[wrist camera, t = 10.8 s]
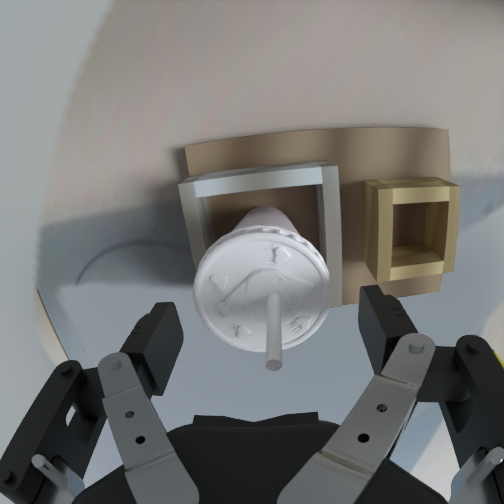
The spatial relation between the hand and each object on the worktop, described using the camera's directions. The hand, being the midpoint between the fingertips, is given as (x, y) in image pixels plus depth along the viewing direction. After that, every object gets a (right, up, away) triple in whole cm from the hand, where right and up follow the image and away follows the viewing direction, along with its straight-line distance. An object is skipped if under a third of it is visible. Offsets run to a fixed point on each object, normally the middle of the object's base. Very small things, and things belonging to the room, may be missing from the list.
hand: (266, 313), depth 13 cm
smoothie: (0, +4, +10) cm, 11 cm away
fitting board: (+5, +5, +11) cm, 13 cm away
